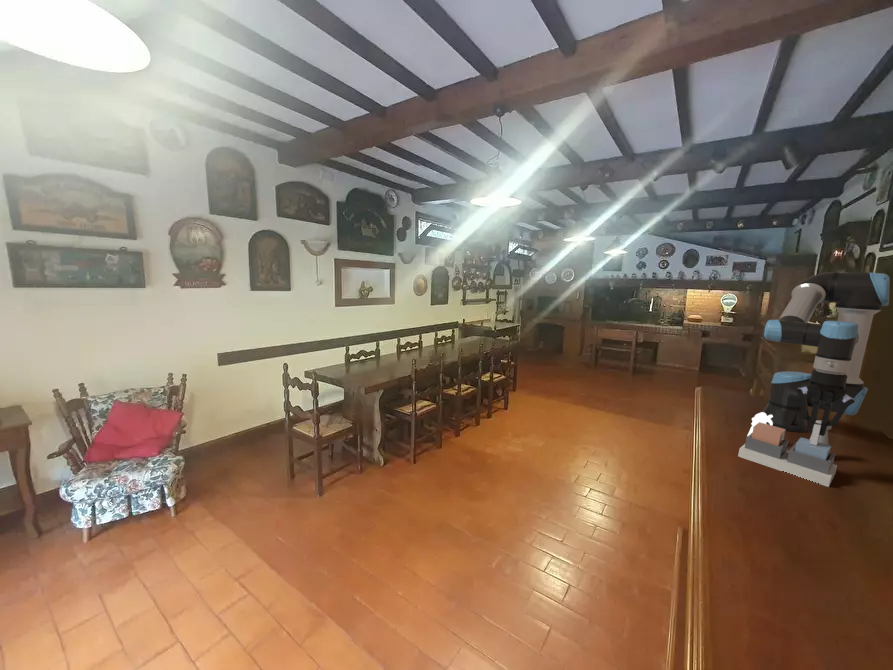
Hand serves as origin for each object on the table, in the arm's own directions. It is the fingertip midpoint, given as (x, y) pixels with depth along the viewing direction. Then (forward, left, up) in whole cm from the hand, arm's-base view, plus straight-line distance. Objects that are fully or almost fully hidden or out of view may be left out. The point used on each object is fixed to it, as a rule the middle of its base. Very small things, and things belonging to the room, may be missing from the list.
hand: (813, 443), depth 115 cm
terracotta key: (0, -11, -4) cm, 12 cm away
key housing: (0, -6, -10) cm, 11 cm away
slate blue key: (0, 0, -5) cm, 5 cm away
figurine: (-14, -16, -10) cm, 23 cm away
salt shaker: (-18, -1, -10) cm, 21 cm away
